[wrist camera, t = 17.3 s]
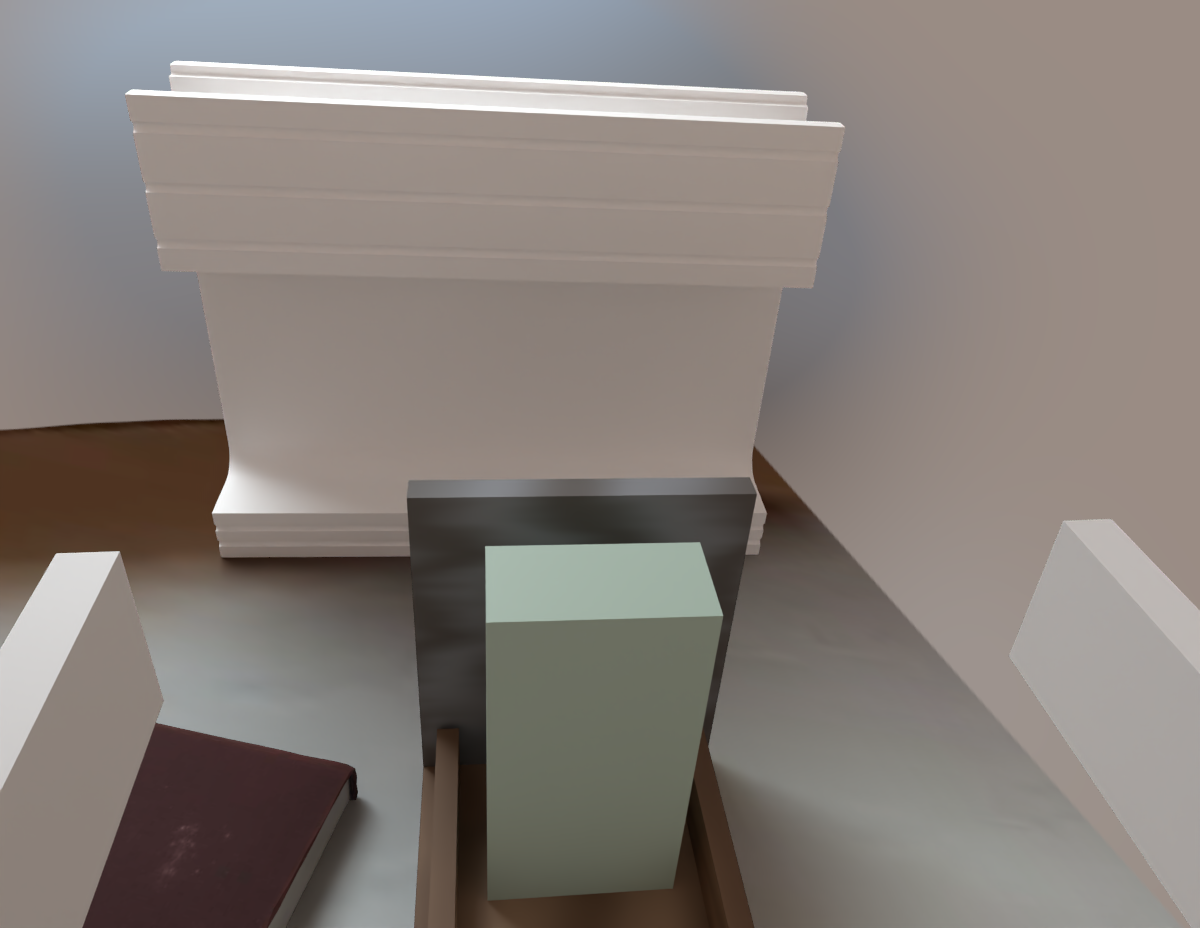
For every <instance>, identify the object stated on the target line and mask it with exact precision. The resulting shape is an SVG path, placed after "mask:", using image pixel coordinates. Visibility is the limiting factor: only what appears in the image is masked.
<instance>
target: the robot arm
mask: <svg viewBox="0 0 1200 928" xmlns="http://www.w3.org/2000/svg"><path fill="white" fill-rule="evenodd" d="M1009 657H1010V659H1011V660H1012V662H1013V663H1014V665H1015V666H1016V668H1017V669H1018V671H1019V672H1020V674H1021V675H1022V677H1023V678H1024V680H1025V681H1026V683H1027V684H1028V686H1029V687H1030V689H1031V690H1032V692H1033V693H1034V694H1035V696H1036V698H1037V699H1038V700H1039V702H1040V703H1041V705H1042V706H1043V708H1044V709H1045V711H1046V712H1047V714H1048V715H1049V717H1050V718H1051V720H1052V721H1053V723H1054V724H1055V726H1056V727H1057V729H1058V730H1059V732H1060V733H1061V735H1062V736H1063V738H1064V739H1065V741H1066V742H1067V744H1068V745H1069V747H1070V748H1071V750H1072V751H1073V753H1074V754H1075V756H1076V757H1077V759H1078V760H1079V761H1080V763H1081V764H1082V766H1083V767H1084V769H1085V770H1086V772H1087V773H1088V775H1089V776H1090V778H1091V779H1092V781H1093V782H1094V784H1095V785H1096V787H1097V788H1098V790H1099V791H1100V793H1101V794H1102V795H1103V797H1104V799H1105V800H1106V801H1107V803H1108V805H1109V806H1110V807H1111V809H1112V811H1113V812H1114V814H1115V815H1116V816H1117V818H1118V819H1119V821H1120V822H1121V824H1122V825H1123V827H1124V828H1125V830H1126V831H1127V833H1128V834H1129V836H1130V837H1131V839H1132V840H1133V842H1134V843H1135V845H1136V846H1137V848H1138V849H1139V851H1140V852H1141V853H1142V855H1143V856H1144V858H1145V860H1146V861H1147V863H1148V864H1149V866H1150V867H1151V869H1152V870H1153V872H1154V873H1155V874H1156V876H1157V877H1158V879H1159V880H1160V882H1161V883H1162V885H1163V886H1164V888H1165V889H1166V891H1167V892H1168V894H1169V895H1170V897H1171V898H1172V900H1173V901H1174V903H1175V904H1176V906H1177V907H1178V909H1179V910H1180V911H1181V913H1182V915H1183V916H1184V918H1185V919H1186V920H1187V922H1188V924H1189V925H1190V927H1191V928H1200V610H1199V609H1198V608H1197V607H1196V606H1195V605H1194V604H1193V603H1192V602H1191V601H1190V600H1189V599H1188V598H1187V597H1186V596H1185V595H1184V594H1183V593H1182V592H1181V591H1180V590H1179V589H1178V588H1177V587H1176V586H1175V585H1174V584H1173V582H1172V581H1171V580H1170V579H1169V578H1168V577H1167V576H1166V575H1165V574H1164V573H1163V572H1162V571H1161V570H1160V569H1159V568H1158V567H1157V566H1156V565H1155V564H1154V563H1153V562H1152V561H1151V560H1150V559H1149V558H1148V557H1147V556H1146V554H1144V552H1143V551H1142V550H1141V549H1140V548H1139V547H1138V546H1137V545H1136V544H1135V543H1134V542H1133V541H1132V540H1131V539H1130V538H1129V537H1128V536H1127V535H1126V534H1125V533H1124V532H1123V531H1122V530H1121V529H1120V528H1119V527H1118V525H1117V524H1116V523H1115V522H1114V521H1113V520H1112V519H1101V520H1073V521H1072V520H1071V521H1070V520H1069V521H1063V523H1062V525H1061V528H1060V531H1059V533H1058V536H1057V538H1056V540H1055V543H1054V545H1053V548H1052V550H1051V553H1050V555H1049V558H1048V560H1047V563H1046V566H1045V568H1044V570H1043V573H1042V575H1041V578H1040V580H1039V582H1038V585H1037V587H1036V590H1035V592H1034V595H1033V597H1032V600H1031V602H1030V605H1029V607H1028V610H1027V612H1026V615H1025V617H1024V620H1023V622H1022V624H1021V627H1020V629H1019V632H1018V634H1017V637H1016V639H1015V642H1014V644H1013V647H1012V649H1011V652H1010V654H1009ZM163 701H164V700H163V696H162V693H161V690H160V686H159V683H158V679H157V676H156V673H155V669H154V666H153V663H152V659H151V656H150V652H149V649H148V646H147V642H146V639H145V636H144V632H143V629H142V625H141V622H140V619H139V615H138V612H137V609H136V605H135V602H134V598H133V595H132V592H131V588H130V585H129V582H128V578H127V575H126V571H125V568H124V565H123V561H122V558H121V555H120V551H118V552H87V553H57V554H56V555H55V557H54V558H53V560H52V562H51V563H50V565H49V567H48V569H47V570H46V572H45V574H44V575H43V577H42V579H41V580H40V582H39V584H38V586H37V587H36V589H35V591H34V592H33V594H32V596H31V598H30V599H29V601H28V603H27V604H26V606H25V608H24V609H23V611H22V613H21V615H20V616H19V618H18V620H17V621H16V623H15V625H14V627H13V628H12V630H11V632H10V633H9V635H8V637H7V639H6V640H5V642H4V644H3V645H2V647H1V649H0V928H82V927H83V924H84V922H85V919H86V916H87V913H88V910H89V908H90V905H91V902H92V899H93V896H94V894H95V891H96V888H97V885H98V882H99V880H100V877H101V874H102V871H103V868H104V866H105V863H106V860H107V857H108V855H109V852H110V849H111V846H112V843H113V841H114V838H115V835H116V832H117V829H118V827H119V824H120V821H121V818H122V815H123V813H124V810H125V807H126V804H127V801H128V799H129V796H130V793H131V790H132V787H133V785H134V782H135V779H136V776H137V773H138V771H139V768H140V765H141V762H142V759H143V757H144V754H145V751H146V748H147V746H148V743H149V740H150V737H151V734H152V732H153V729H154V726H155V723H156V720H157V718H158V715H159V712H160V709H161V706H162V704H163Z"/></svg>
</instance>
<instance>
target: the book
mask: <svg viewBox="0 0 1200 928" xmlns="http://www.w3.org/2000/svg"><path fill="white" fill-rule="evenodd" d="M356 783H357V775H356V771H355V768H353V767H351V766H349V765H347V764H343V763H339V762H335V761H330V760H325V759H319V758H314V757H309V756H303V755H299V754H295V753H291V752H287V751H283V750H278V749H274V748H269V747H265V746H260V745H255V744H250V743H245V742H240V741H236V740H231V739H226V738H222V737H217V736H212V735H208V734H203V733H199V732H194V731H190V730H185V729H180V728H176V727H172V726H167V725H163V724H158V723H155V726H154V729H153V732H152V734H151V737H150V740H149V743H148V746H147V748H146V751H145V754H144V757H143V759H142V762H141V765H140V768H139V771H138V773H137V776H136V779H135V782H134V785H133V787H132V790H131V793H130V796H129V799H128V801H127V804H126V807H125V810H124V813H123V815H122V818H121V821H120V824H119V827H118V829H117V832H116V835H115V838H114V841H113V843H112V846H111V849H110V852H109V855H108V857H107V860H106V863H105V866H104V868H103V871H102V874H101V877H100V880H99V882H98V885H97V888H96V891H95V894H94V896H93V899H92V902H91V905H90V908H89V910H88V913H87V916H86V919H85V922H84V924H83V927H82V928H286V926H287V924H288V922H289V920H290V918H291V916H292V914H293V912H294V910H295V908H296V905H297V903H298V901H299V899H300V897H301V895H302V893H303V891H304V889H305V887H306V885H307V883H308V881H309V879H310V877H311V875H312V873H313V871H314V869H315V867H316V865H317V863H318V861H319V859H320V857H321V855H322V853H323V851H324V849H325V847H326V845H327V843H328V841H329V839H330V837H331V835H332V833H333V831H334V829H335V827H336V825H337V823H338V821H339V819H340V817H341V815H342V813H343V811H344V809H345V807H346V805H347V803H348V801H349V800H356V798H357V793H358V790H357V785H356Z"/></svg>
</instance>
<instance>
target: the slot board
mask: <svg viewBox="0 0 1200 928" xmlns="http://www.w3.org/2000/svg"><path fill="white" fill-rule="evenodd" d="M756 497H757V493H756V490H755V488H754V486H753V483H752V481H751V479H750V477H720V478H612V479H505V480H409V481H408V490H407V512H408V528H409V544H410V559H411V575H412V591H413V607H414V623H415V639H416V655H417V671H418V686H419V702H420V718H421V734H422V750H423V766H424V768H423V785H422V802H421V819H420V836H419V853H418V870H417V888H416V905H415V922H414V928H754V925H753V921H752V917H751V913H750V909H749V905H748V901H747V897H746V894H745V890H744V886H743V882H742V878H741V874H740V870H739V866H738V862H737V858H736V854H735V850H734V846H733V842H732V839H731V835H730V831H729V827H728V823H727V819H726V815H725V811H724V807H723V803H722V799H721V795H720V791H719V787H718V784H717V780H716V776H715V772H714V768H713V764H712V760H711V756H710V752H709V748H708V745H709V739H710V734H711V729H712V724H713V719H714V714H715V708H716V703H717V698H718V693H719V688H720V683H721V677H722V672H723V667H724V662H725V657H726V652H727V646H728V641H729V636H730V631H731V626H732V621H733V615H734V610H735V605H736V600H737V595H738V590H739V584H740V579H741V574H742V569H743V564H744V559H745V553H746V548H747V543H748V538H749V533H750V528H751V522H752V517H753V512H754V507H755V502H756ZM692 542H700V544H701V547H702V550H703V553H704V556H705V560H706V563H707V566H708V569H709V572H710V575H711V579H712V582H713V585H714V588H715V591H716V594H717V597H718V601H719V604H720V607H721V610H722V613H723V620H722V626H721V631H720V637H719V642H718V647H717V653H716V658H715V664H714V669H713V674H712V680H711V685H710V691H709V696H708V701H707V707H706V712H705V717H704V723H703V728H702V734H701V739H700V744H699V750H698V755H697V761H696V766H695V771H694V777H693V782H692V788H691V793H690V798H689V804H688V809H687V815H686V820H685V825H684V831H683V836H682V841H681V847H680V852H679V858H678V863H677V868H676V874H675V879H674V885H673V889H658V890H643V891H628V892H613V893H598V894H583V895H568V896H552V897H537V898H522V899H507V900H492V901H488V893H487V760H486V575H485V546H527V545H582V544H637V543H692Z"/></svg>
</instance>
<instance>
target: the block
mask: <svg viewBox="0 0 1200 928" xmlns="http://www.w3.org/2000/svg"><path fill="white" fill-rule="evenodd" d="M170 68H171V75H170V76H169V80H170V85H171V91H149V90H130V91H129V92H127V93H126V94H125V97H126V102H127V107H128V112H129V116H130V121H132V123H133V126H134V131H133V136H134V141H135V146H136V150H137V155H138V160H139V164H140V170H141V174H142V179H143V182H145V184H146V192H145V194H146V198H147V203H148V208H149V213H150V217H151V222H152V227H153V232H154V237H155V238H156V239H157V242H158V247H157V251H158V256H159V261H160V266H161V270H162V271H189V272H197V277H198V282H199V288H200V293H201V298H202V303H203V309H204V314H205V320H206V325H207V330H208V336H209V341H210V347H211V352H212V357H213V363H214V368H215V373H216V379H217V384H218V390H219V395H220V400H221V406H222V411H223V416H224V422H225V427H226V433H227V438H228V443H229V451H230V465H229V473H228V477H227V480H226V482H225V485H224V487H223V489H222V492H221V494H220V496H219V499H218V501H217V503H216V505H215V508H214V510H213V512H212V516H213V520H214V525H216V535H217V540H219V542H220V544H219V549H220V554H221V557H391V556H410V544H409V528H408V512H407V490H408V481H409V480H505V479H612V478H720V477H750V479H751V481H752V483H753V486H754V488H755V490H756V493H757V497H756V502H755V507H754V512H753V517H752V522H751V528H750V533H749V538H748V543H747V548H746V553H745V555H758V554H759V549H760V538H762V534H763V524H765V520H766V515H767V512H766V510H765V507H764V505H763V502H762V500H761V497H760V494H759V492H758V489H757V487H756V484H755V482H754V478H753V472H752V451H753V445H754V440H755V434H756V429H757V423H758V418H759V412H760V407H761V402H762V395H763V391H764V385H765V380H766V375H767V369H768V364H769V358H770V353H771V348H772V347H771V346H772V342H773V336H774V331H775V325H776V320H777V315H778V310H779V304H780V299H781V293H782V288H783V287H790V288H813V284H814V279H815V274H816V269H817V267H816V261H817V258H819V254H820V249H821V244H822V240H823V235H824V229H825V224H826V219H827V214H826V212H827V207H829V205H830V200H831V195H832V190H833V186H834V181H835V176H836V171H837V165H838V160H837V158H838V153H839V152H840V151H841V146H842V141H843V136H844V132H845V127H844V126H843V125H842V124H841V123H837V122H816V121H806V117H807V112H808V106H807V105H806V102H807V95H806V94H805V93H803V92H789V91H769V90H749V89H728V88H709V87H688V86H669V85H649V84H629V83H609V82H588V81H569V80H548V79H528V78H508V77H488V76H469V75H448V74H427V73H409V72H388V71H369V70H349V69H329V68H309V67H308V68H307V67H289V66H268V65H249V64H229V63H227V64H226V63H209V62H189V61H174V62H173V63H171V64H170Z"/></svg>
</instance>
